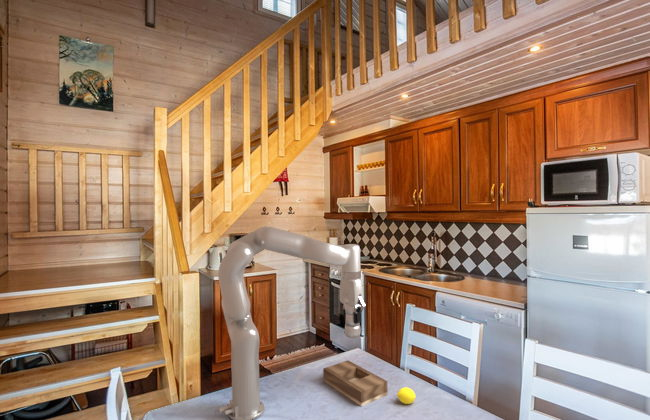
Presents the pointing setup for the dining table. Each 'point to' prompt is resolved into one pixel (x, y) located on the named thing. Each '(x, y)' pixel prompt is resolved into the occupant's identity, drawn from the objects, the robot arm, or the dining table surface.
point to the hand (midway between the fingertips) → (352, 320)
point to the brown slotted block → (355, 382)
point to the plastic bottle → (351, 321)
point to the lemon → (406, 395)
